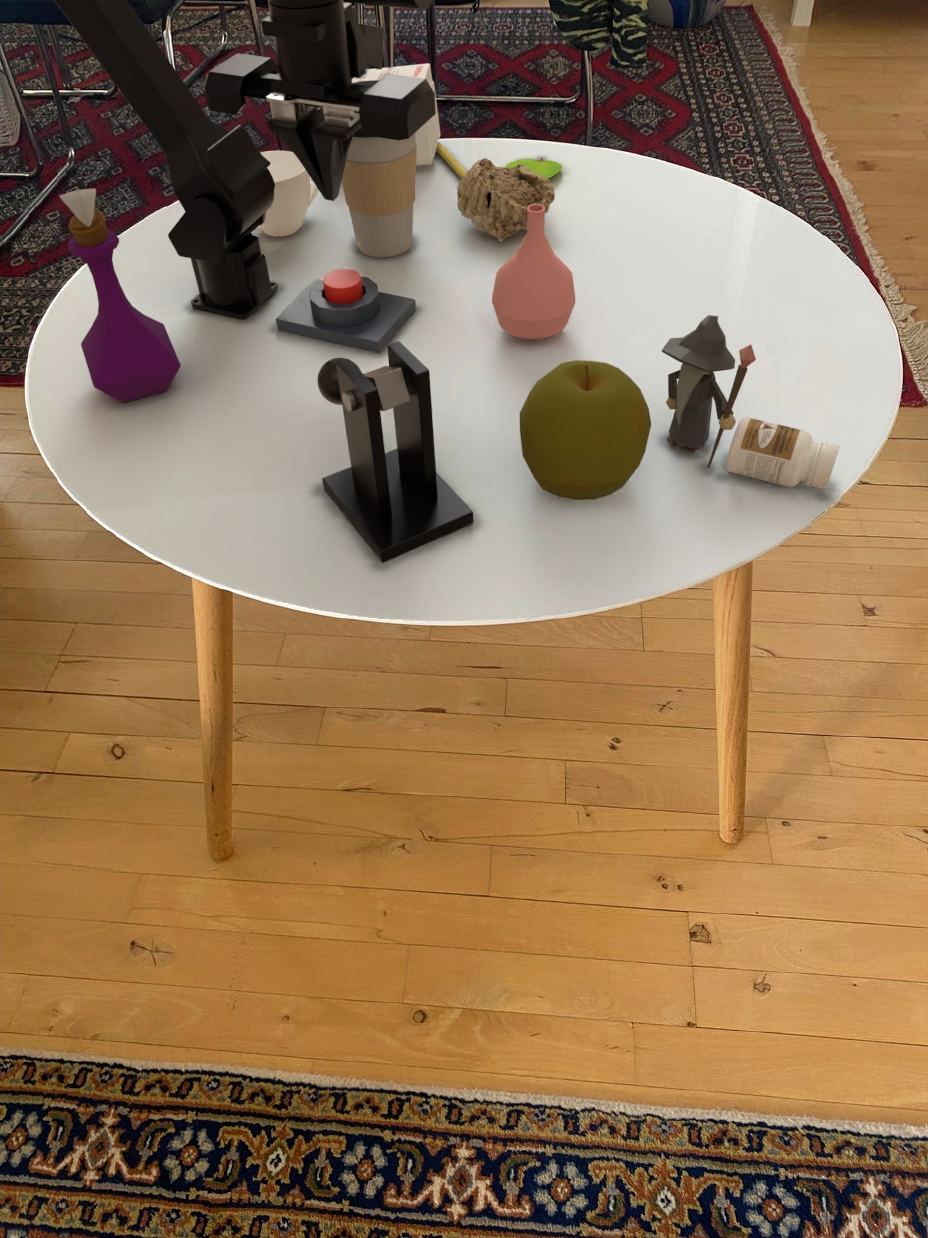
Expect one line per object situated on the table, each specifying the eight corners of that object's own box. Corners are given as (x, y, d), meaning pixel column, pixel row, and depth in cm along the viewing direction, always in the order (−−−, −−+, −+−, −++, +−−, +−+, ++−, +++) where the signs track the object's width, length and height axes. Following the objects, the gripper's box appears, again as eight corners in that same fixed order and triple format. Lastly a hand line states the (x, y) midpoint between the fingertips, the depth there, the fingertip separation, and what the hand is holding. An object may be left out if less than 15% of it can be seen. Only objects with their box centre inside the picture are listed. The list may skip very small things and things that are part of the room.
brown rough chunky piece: (483, 274, 106) (569, 232, 103) (454, 222, 101) (544, 176, 98) (471, 215, 113) (552, 174, 110) (444, 163, 107) (528, 119, 104)
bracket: (323, 489, 79) (299, 350, 70) (410, 454, 82) (398, 316, 72) (382, 563, 73) (364, 422, 64) (474, 523, 76) (469, 382, 66)
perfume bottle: (91, 374, 91) (20, 178, 77) (172, 354, 93) (116, 159, 79) (105, 418, 86) (32, 219, 73) (189, 396, 88) (134, 198, 75)
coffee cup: (444, 236, 106) (437, 87, 95) (394, 275, 101) (380, 122, 90) (374, 216, 110) (359, 70, 99) (321, 252, 105) (300, 103, 94)
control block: (277, 329, 95) (272, 301, 93) (318, 289, 100) (314, 261, 97) (379, 353, 92) (376, 324, 90) (416, 310, 97) (414, 281, 94)
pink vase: (537, 364, 90) (541, 238, 81) (475, 334, 93) (472, 210, 84) (590, 328, 93) (599, 204, 84) (528, 301, 97) (531, 179, 88)
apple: (551, 538, 74) (557, 419, 66) (497, 464, 80) (496, 346, 72) (665, 500, 77) (685, 381, 69) (605, 431, 83) (616, 314, 75)
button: (318, 301, 93) (315, 283, 92) (336, 282, 95) (334, 265, 94) (352, 308, 92) (350, 291, 91) (369, 289, 94) (367, 272, 93)
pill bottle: (745, 404, 77) (846, 427, 75) (735, 447, 81) (831, 471, 79) (730, 438, 75) (834, 463, 73) (721, 481, 78) (820, 506, 76)
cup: (232, 229, 109) (219, 167, 104) (302, 197, 113) (293, 136, 108) (276, 252, 105) (264, 189, 100) (346, 218, 110) (339, 156, 105)
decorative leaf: (579, 175, 115) (580, 166, 114) (521, 198, 111) (521, 189, 111) (537, 156, 119) (537, 148, 118) (479, 177, 116) (479, 169, 115)
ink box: (337, 174, 117) (433, 166, 115) (320, 99, 111) (421, 89, 109) (351, 143, 123) (442, 135, 121) (335, 70, 117) (431, 60, 115)
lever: (319, 409, 79) (305, 365, 77) (359, 394, 80) (346, 350, 78) (377, 423, 68) (361, 372, 67) (422, 405, 69) (407, 355, 68)
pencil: (427, 142, 121) (433, 146, 122) (469, 188, 113) (476, 193, 113) (432, 135, 121) (438, 139, 122) (475, 181, 112) (481, 185, 113)
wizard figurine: (637, 442, 82) (653, 311, 73) (676, 411, 84) (697, 281, 75) (722, 485, 78) (750, 353, 69) (761, 452, 80) (793, 320, 71)
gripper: (459, -24, 77) (465, 175, 89) (256, -45, 83) (287, 146, 94) (396, 22, 71) (412, 232, 82) (180, -3, 76) (223, 196, 88)
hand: (331, 198), depth 87 cm, fingers closed
